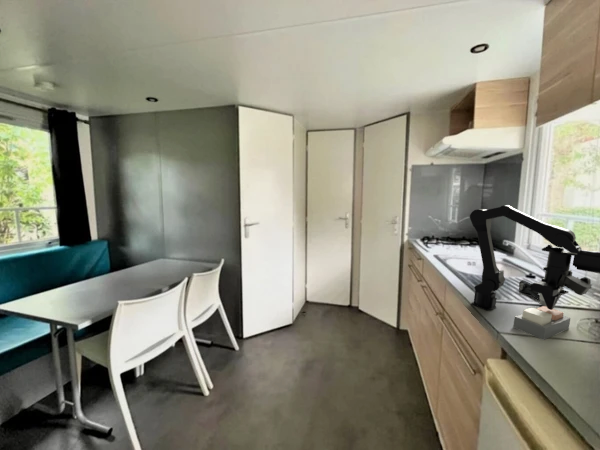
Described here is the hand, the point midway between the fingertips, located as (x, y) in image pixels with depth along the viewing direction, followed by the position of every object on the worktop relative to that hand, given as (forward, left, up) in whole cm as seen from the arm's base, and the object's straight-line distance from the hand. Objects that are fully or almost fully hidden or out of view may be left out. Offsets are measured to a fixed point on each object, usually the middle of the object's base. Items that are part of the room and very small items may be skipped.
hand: (550, 309), depth 97 cm
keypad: (0, -4, -6) cm, 8 cm away
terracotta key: (0, 0, -5) cm, 5 cm away
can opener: (-16, +28, -7) cm, 32 cm away
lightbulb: (-9, +19, -6) cm, 22 cm away
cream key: (0, -9, -4) cm, 9 cm away
